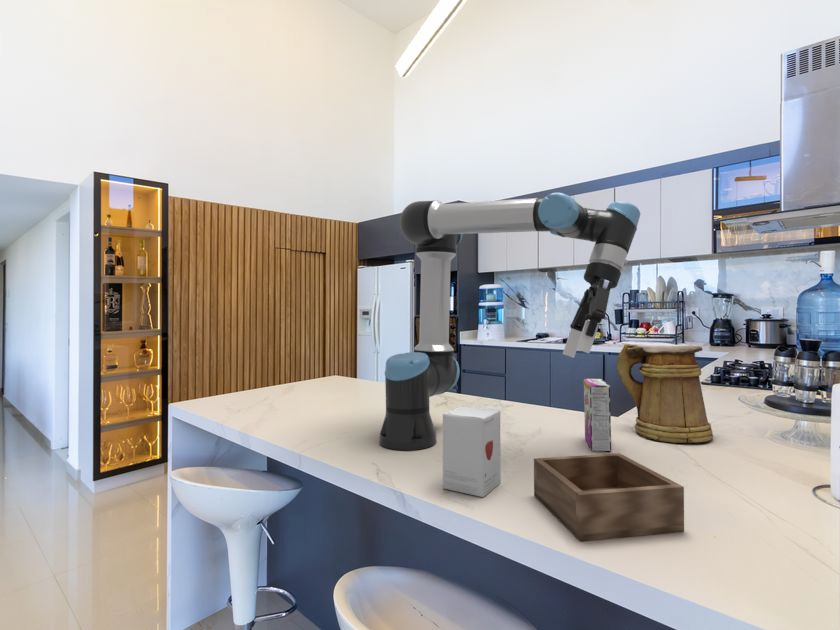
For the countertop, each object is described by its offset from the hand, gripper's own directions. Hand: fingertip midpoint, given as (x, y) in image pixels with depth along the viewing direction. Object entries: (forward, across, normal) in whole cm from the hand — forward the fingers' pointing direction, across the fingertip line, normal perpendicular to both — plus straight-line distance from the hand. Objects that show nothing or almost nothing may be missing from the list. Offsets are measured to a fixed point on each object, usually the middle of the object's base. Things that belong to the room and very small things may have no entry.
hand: (574, 353), depth 103 cm
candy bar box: (+18, +19, -16) cm, 31 cm away
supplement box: (+34, -10, +12) cm, 37 cm away
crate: (+27, -20, -9) cm, 35 cm away
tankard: (+8, +30, -35) cm, 47 cm away
